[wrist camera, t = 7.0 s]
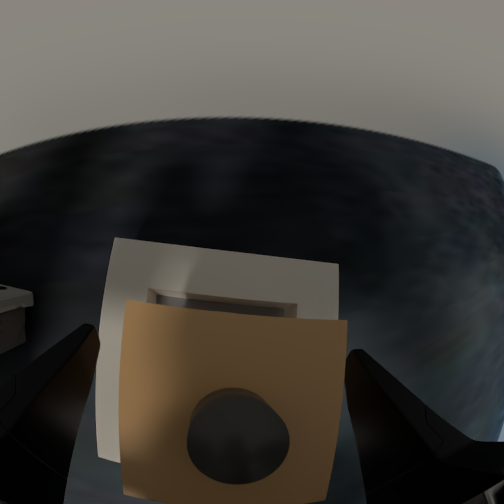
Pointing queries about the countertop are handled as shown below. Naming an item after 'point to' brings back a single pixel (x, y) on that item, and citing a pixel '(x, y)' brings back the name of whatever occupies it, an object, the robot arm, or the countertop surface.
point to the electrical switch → (13, 316)
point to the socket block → (198, 301)
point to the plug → (228, 405)
